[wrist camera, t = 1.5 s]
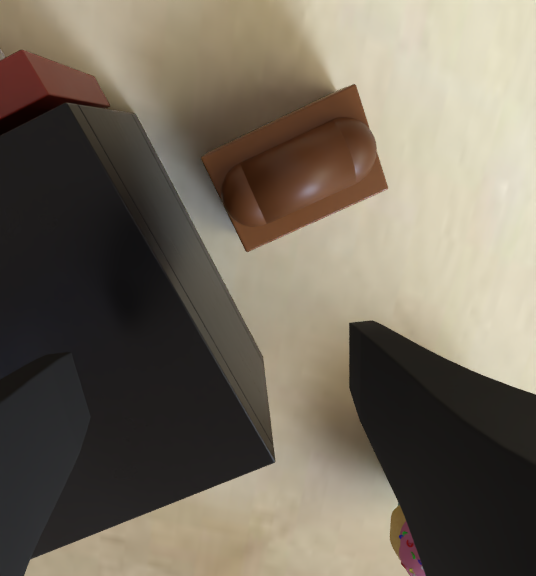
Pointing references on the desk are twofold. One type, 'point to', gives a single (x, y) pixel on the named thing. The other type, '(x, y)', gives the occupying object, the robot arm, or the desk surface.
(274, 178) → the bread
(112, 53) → the desk surface
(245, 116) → the desk surface
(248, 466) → the black rectangular box
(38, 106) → the drawer
